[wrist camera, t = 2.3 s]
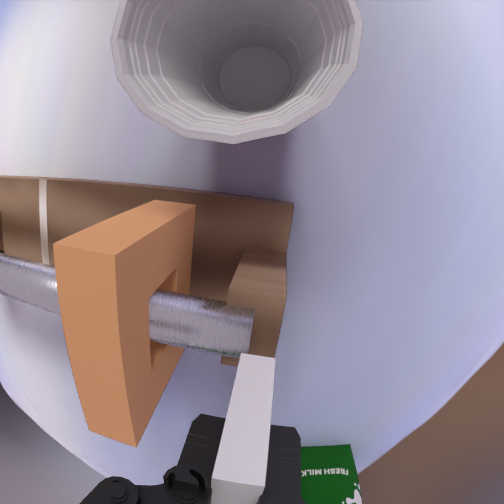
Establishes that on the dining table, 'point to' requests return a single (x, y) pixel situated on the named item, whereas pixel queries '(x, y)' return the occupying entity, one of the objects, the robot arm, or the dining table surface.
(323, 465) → the milk carton
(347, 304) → the dining table surface
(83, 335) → the collar
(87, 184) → the pipe stand
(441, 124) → the dining table surface
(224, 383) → the dining table surface
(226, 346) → the steel pipe
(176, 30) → the plastic cup
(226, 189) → the dining table surface
